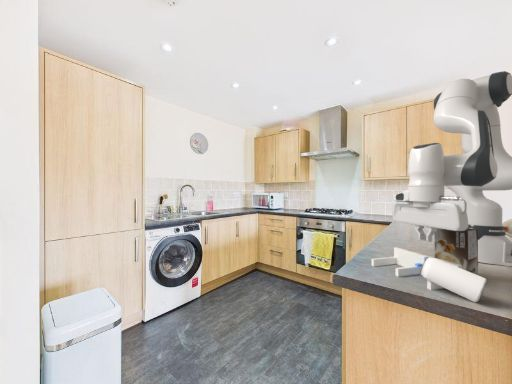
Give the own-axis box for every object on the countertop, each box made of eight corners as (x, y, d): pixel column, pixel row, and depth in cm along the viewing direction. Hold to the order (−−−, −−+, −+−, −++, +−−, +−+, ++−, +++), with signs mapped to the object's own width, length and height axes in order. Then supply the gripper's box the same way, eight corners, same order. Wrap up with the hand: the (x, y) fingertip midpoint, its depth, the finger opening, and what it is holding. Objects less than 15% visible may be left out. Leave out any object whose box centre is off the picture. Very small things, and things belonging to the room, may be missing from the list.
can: (486, 285, 49) (423, 259, 58) (475, 307, 51) (417, 279, 60) (489, 275, 53) (430, 252, 62) (479, 296, 55) (424, 271, 64)
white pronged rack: (397, 262, 83) (397, 247, 83) (461, 285, 62) (462, 265, 62) (371, 265, 79) (371, 249, 79) (430, 290, 59) (430, 269, 59)
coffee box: (479, 280, 66) (480, 229, 66) (468, 284, 64) (469, 230, 64) (444, 270, 74) (444, 224, 74) (433, 273, 72) (433, 225, 72)
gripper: (474, 196, 57) (474, 248, 57) (403, 195, 76) (403, 233, 76) (457, 196, 55) (457, 250, 55) (389, 195, 75) (388, 234, 75)
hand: (425, 240), depth 66 cm, fingers closed
